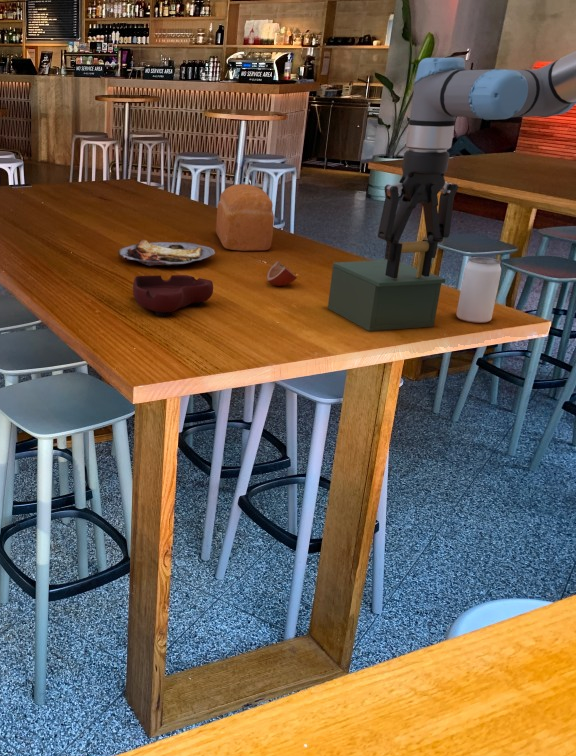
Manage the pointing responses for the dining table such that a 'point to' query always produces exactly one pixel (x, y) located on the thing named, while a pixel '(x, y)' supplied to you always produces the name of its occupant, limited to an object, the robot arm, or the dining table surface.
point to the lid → (406, 273)
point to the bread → (245, 218)
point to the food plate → (165, 253)
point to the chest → (382, 303)
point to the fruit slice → (280, 275)
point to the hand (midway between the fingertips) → (407, 275)
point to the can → (479, 290)
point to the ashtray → (170, 292)
